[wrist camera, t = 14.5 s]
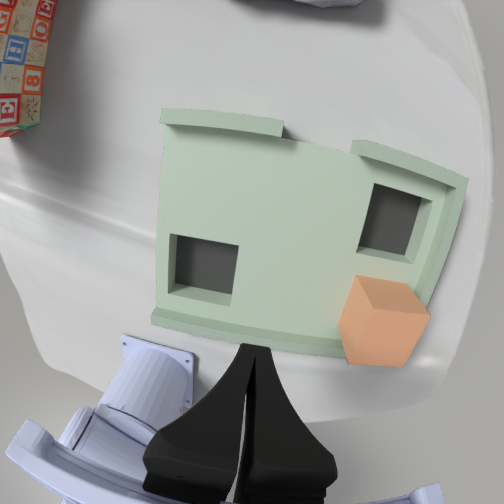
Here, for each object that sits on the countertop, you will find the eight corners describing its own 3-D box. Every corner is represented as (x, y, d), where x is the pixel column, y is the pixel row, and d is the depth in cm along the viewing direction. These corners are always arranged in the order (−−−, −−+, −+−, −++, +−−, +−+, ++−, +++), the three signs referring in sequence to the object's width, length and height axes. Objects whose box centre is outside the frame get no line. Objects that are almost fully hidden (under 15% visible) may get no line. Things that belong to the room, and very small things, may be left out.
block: (385, 330, 21) (402, 366, 16) (337, 324, 21) (347, 364, 16) (406, 283, 19) (430, 315, 15) (355, 274, 19) (373, 308, 15)
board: (387, 339, 23) (397, 361, 20) (164, 304, 24) (151, 324, 21) (446, 172, 17) (468, 178, 14) (178, 113, 18) (161, 108, 15)
